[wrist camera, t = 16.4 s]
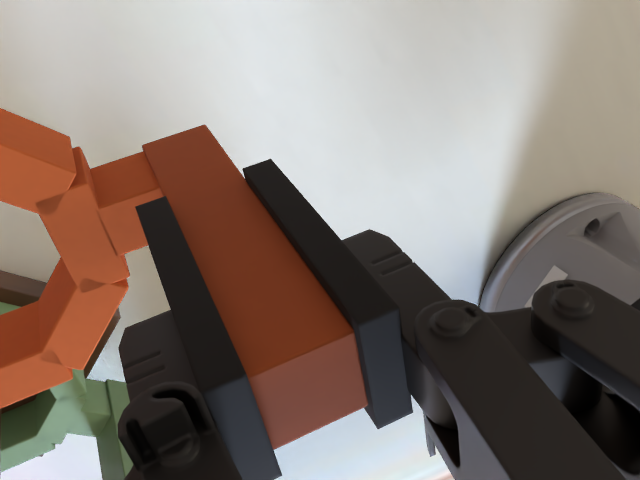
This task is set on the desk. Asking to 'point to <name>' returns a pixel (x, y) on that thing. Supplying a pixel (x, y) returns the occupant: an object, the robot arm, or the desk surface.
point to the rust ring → (211, 258)
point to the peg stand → (27, 292)
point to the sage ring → (68, 421)
